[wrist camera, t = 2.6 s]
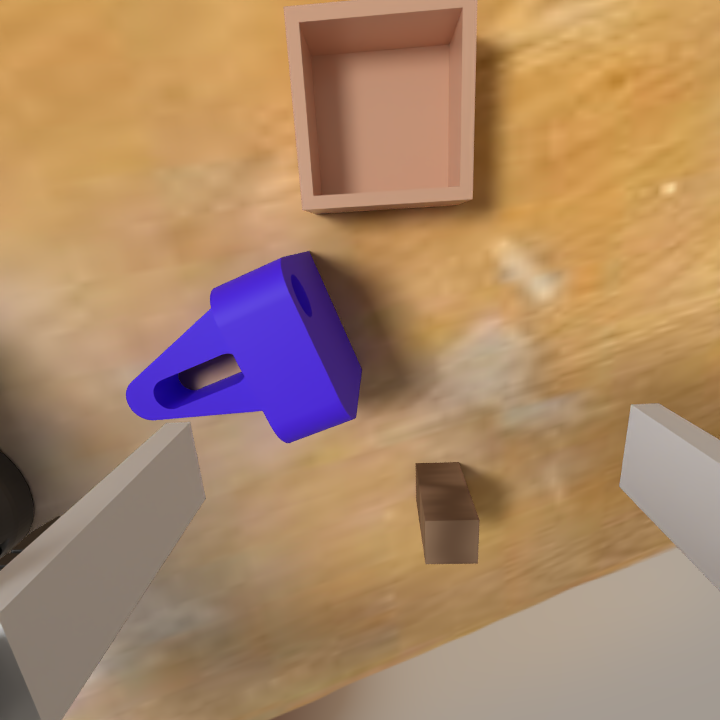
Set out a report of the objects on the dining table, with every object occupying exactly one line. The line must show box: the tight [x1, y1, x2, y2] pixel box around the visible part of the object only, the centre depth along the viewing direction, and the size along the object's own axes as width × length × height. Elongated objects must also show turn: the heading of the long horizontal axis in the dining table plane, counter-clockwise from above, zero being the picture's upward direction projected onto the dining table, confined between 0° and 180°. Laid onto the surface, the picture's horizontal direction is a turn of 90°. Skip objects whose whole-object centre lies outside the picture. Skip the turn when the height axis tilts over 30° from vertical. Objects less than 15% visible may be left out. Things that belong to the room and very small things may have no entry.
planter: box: [284, 0, 477, 214], centre depth 27 cm, size 11×11×6 cm
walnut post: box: [416, 462, 479, 564], centre depth 35 cm, size 4×4×8 cm
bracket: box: [126, 251, 362, 443], centre depth 30 cm, size 18×11×12 cm, turn 113°
